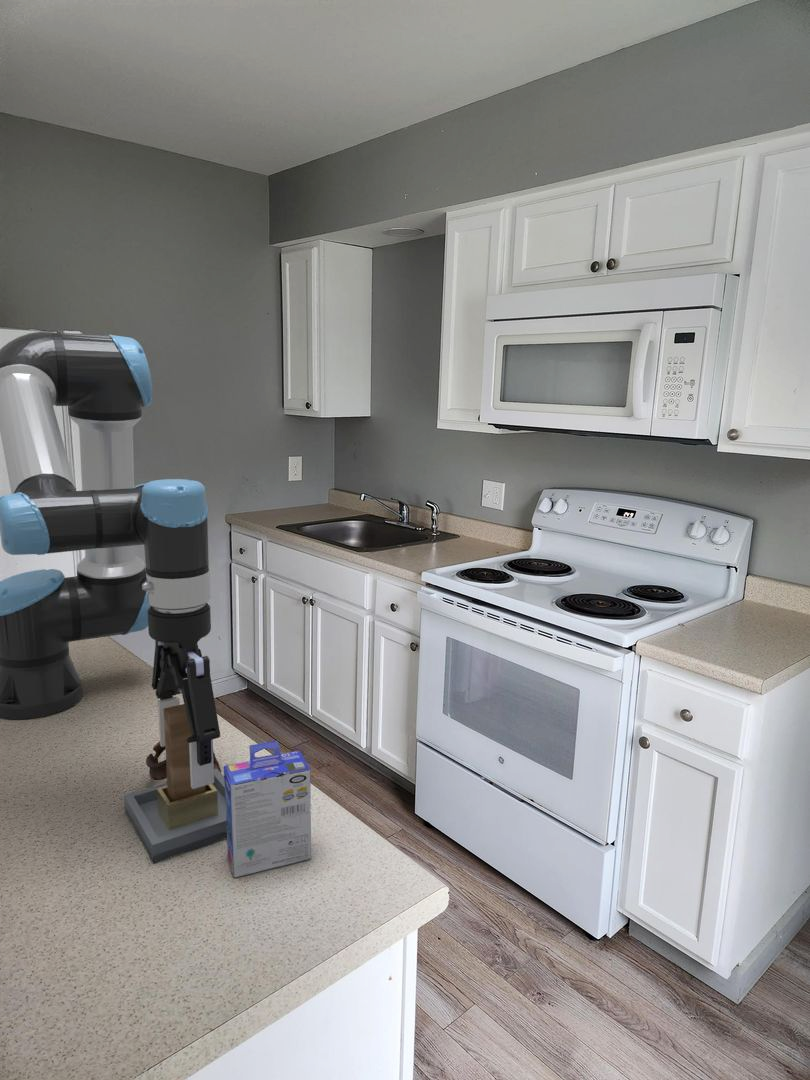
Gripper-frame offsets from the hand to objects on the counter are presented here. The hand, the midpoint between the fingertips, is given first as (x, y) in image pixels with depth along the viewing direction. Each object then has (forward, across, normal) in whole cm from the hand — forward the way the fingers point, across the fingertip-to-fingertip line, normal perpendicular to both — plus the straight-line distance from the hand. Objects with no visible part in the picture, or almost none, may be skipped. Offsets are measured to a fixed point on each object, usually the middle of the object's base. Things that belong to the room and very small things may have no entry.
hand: (185, 763), depth 96 cm
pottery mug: (+9, -11, +4) cm, 15 cm away
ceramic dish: (+8, 0, 0) cm, 8 cm away
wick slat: (+7, 0, 0) cm, 7 cm away
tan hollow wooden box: (+7, 0, 0) cm, 7 cm away
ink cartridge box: (+9, +13, +6) cm, 16 cm away
